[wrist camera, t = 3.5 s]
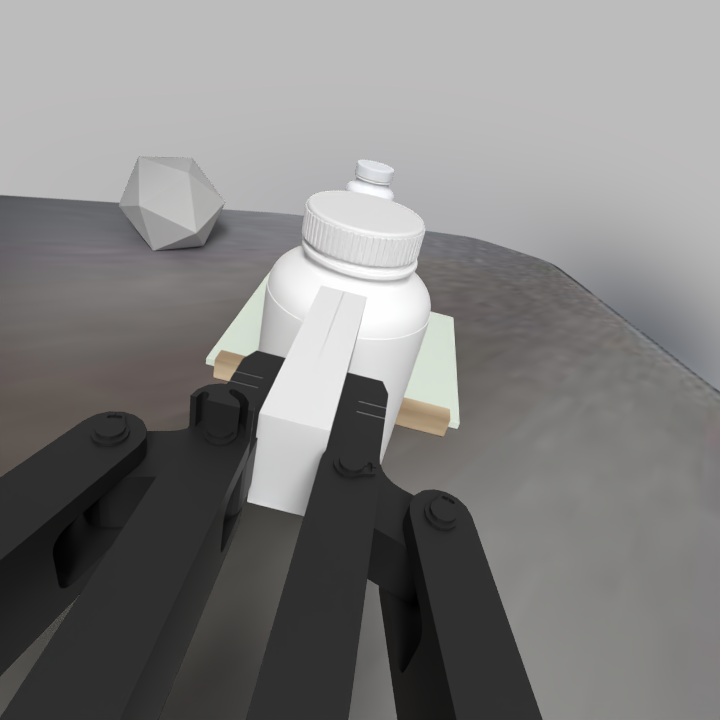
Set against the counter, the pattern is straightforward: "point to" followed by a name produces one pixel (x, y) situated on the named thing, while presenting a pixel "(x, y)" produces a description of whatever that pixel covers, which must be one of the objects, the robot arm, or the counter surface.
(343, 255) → the pill bottle
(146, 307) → the counter surface
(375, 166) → the supplement bottle
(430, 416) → the stop strip
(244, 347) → the mat
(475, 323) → the counter surface
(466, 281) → the counter surface
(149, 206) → the die
